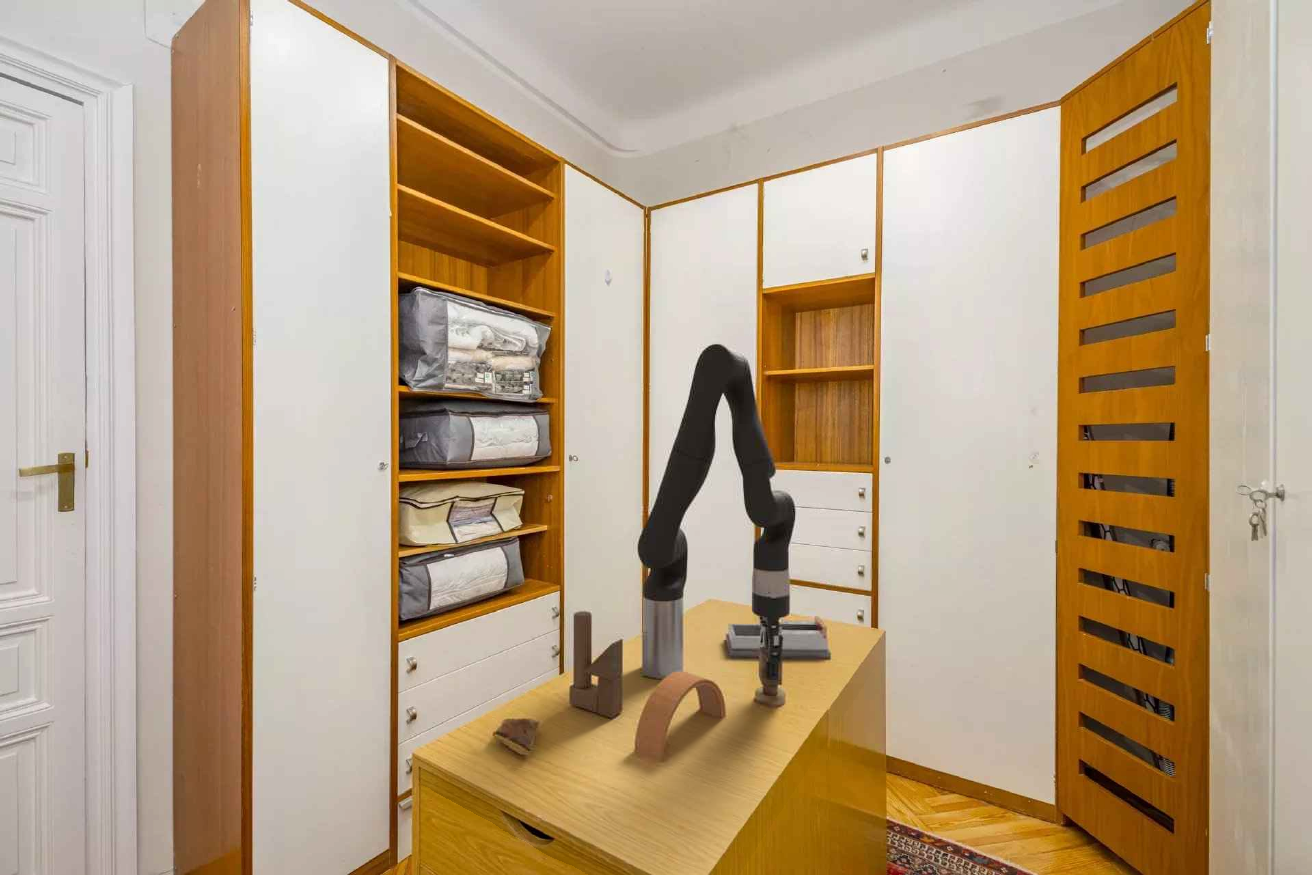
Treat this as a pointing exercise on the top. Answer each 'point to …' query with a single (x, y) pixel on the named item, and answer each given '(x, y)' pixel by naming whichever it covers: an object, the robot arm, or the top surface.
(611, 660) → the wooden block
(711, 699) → the arch
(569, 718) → the top surface
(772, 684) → the headed peg
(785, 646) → the track
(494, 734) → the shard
